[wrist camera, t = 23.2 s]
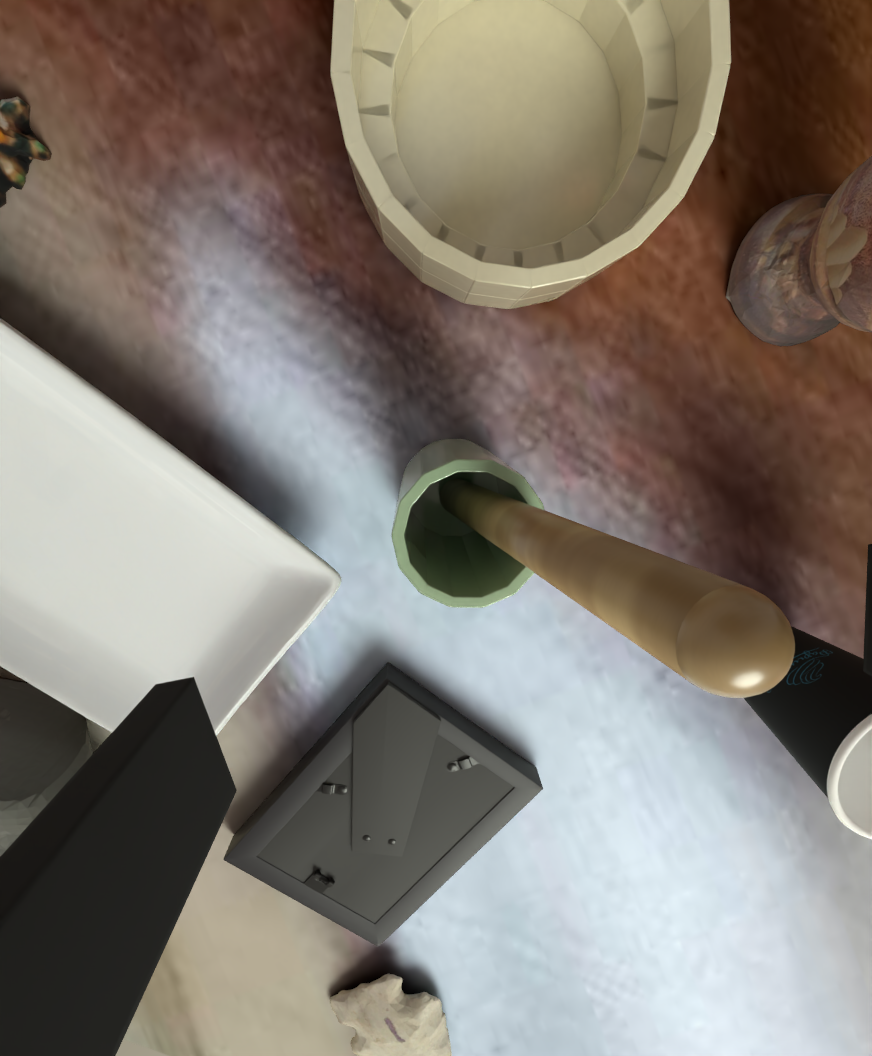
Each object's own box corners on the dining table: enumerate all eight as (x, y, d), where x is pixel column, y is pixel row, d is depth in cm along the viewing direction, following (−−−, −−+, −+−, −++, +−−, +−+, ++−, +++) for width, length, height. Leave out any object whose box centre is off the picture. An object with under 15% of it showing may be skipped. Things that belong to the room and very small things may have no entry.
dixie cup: (728, 585, 32) (883, 680, 21) (836, 613, 33) (1038, 718, 22) (681, 691, 34) (802, 826, 23) (784, 715, 35) (947, 856, 24)
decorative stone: (398, 938, 40) (392, 978, 37) (491, 1038, 41) (492, 1085, 38) (323, 984, 41) (311, 1026, 38) (414, 1080, 42) (409, 1128, 39)
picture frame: (388, 661, 32) (233, 835, 35) (386, 680, 30) (221, 864, 33) (536, 767, 35) (380, 921, 38) (544, 791, 33) (378, 952, 36)
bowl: (644, -85, 23) (721, -247, 17) (669, 277, 27) (738, 245, 21) (316, -13, 23) (282, -149, 17) (389, 335, 27) (382, 319, 21)
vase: (494, 427, 29) (534, 443, 19) (511, 530, 30) (556, 593, 21) (390, 448, 29) (377, 475, 19) (412, 550, 30) (411, 622, 21)
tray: (203, 743, 33) (179, 782, 30) (-287, 442, 27) (-386, 448, 24) (357, 558, 30) (349, 578, 27) (-153, 174, 24) (-244, 139, 21)
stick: (466, 473, 29) (824, 589, 8) (472, 506, 29) (827, 700, 8) (433, 481, 29) (714, 623, 8) (440, 514, 29) (723, 737, 8)
